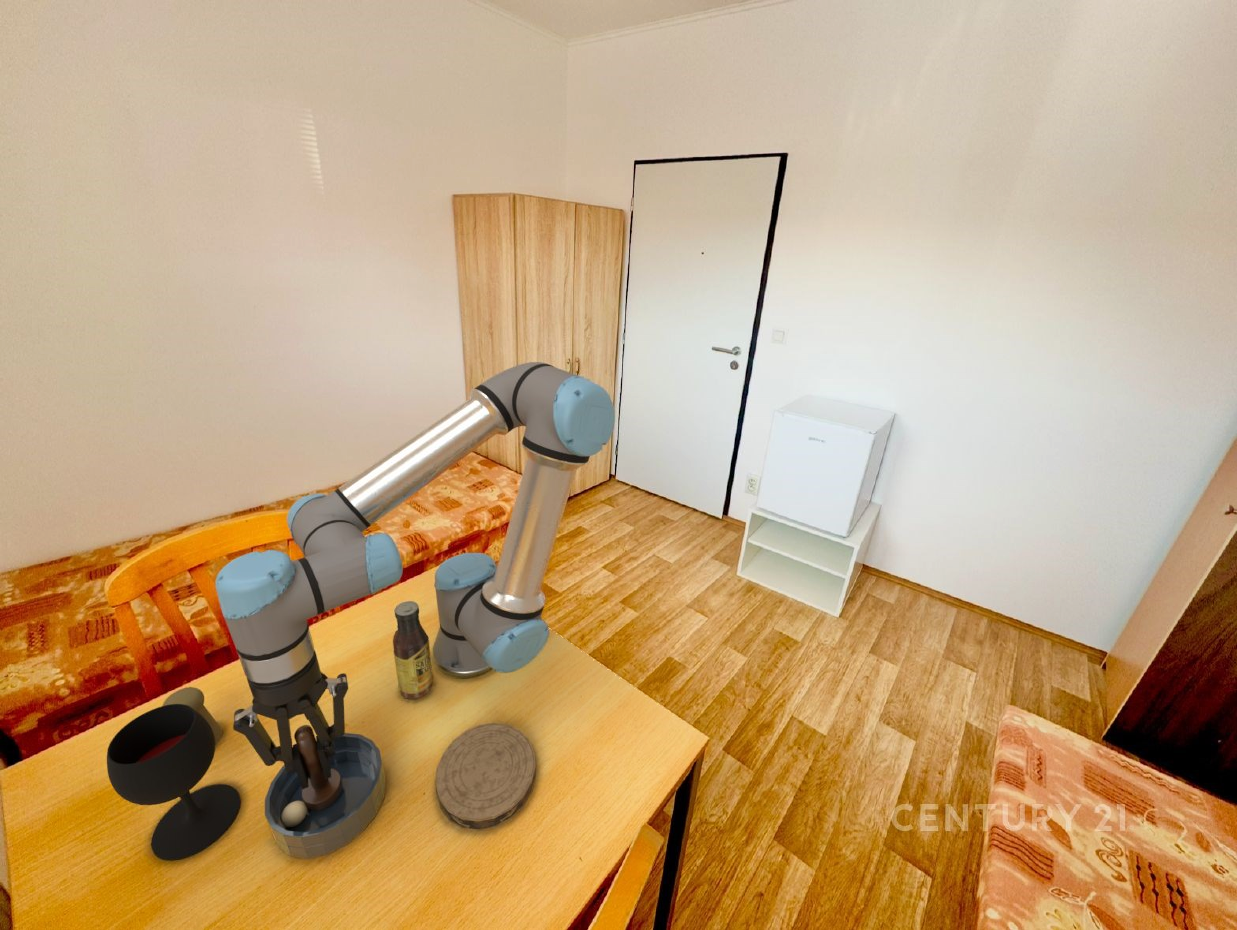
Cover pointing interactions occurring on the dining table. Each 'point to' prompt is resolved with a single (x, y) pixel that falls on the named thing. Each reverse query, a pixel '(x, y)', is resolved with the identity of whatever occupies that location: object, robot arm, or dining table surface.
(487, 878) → the dining table surface
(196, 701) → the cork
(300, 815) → the egg
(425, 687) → the sauce bottle
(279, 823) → the bowl
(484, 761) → the tin can
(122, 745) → the wine glass
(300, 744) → the brown rubber stamp
